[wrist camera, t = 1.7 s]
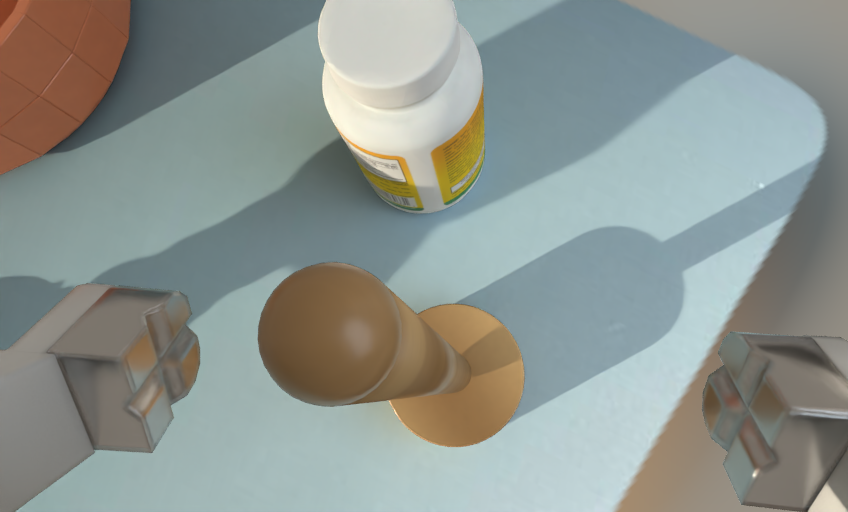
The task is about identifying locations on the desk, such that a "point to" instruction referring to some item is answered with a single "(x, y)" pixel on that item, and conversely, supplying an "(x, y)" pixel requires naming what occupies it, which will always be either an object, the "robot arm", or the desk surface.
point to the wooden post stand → (391, 354)
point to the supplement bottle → (405, 97)
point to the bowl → (54, 69)
